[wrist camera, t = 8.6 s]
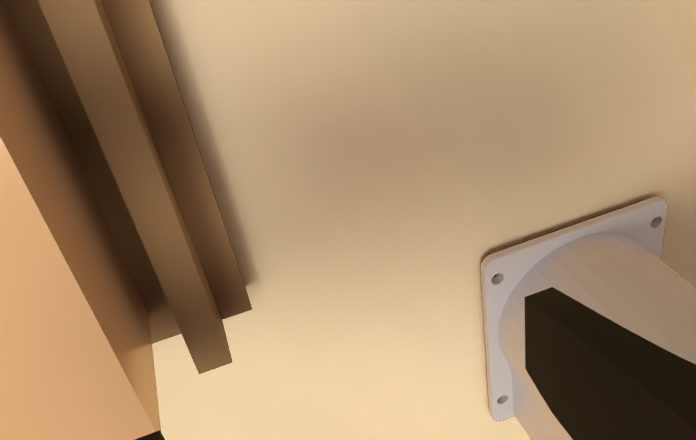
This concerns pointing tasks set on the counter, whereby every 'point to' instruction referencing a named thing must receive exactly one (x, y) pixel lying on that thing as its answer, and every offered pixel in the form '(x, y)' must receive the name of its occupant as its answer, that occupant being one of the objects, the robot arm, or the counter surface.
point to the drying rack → (139, 162)
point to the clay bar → (61, 283)
